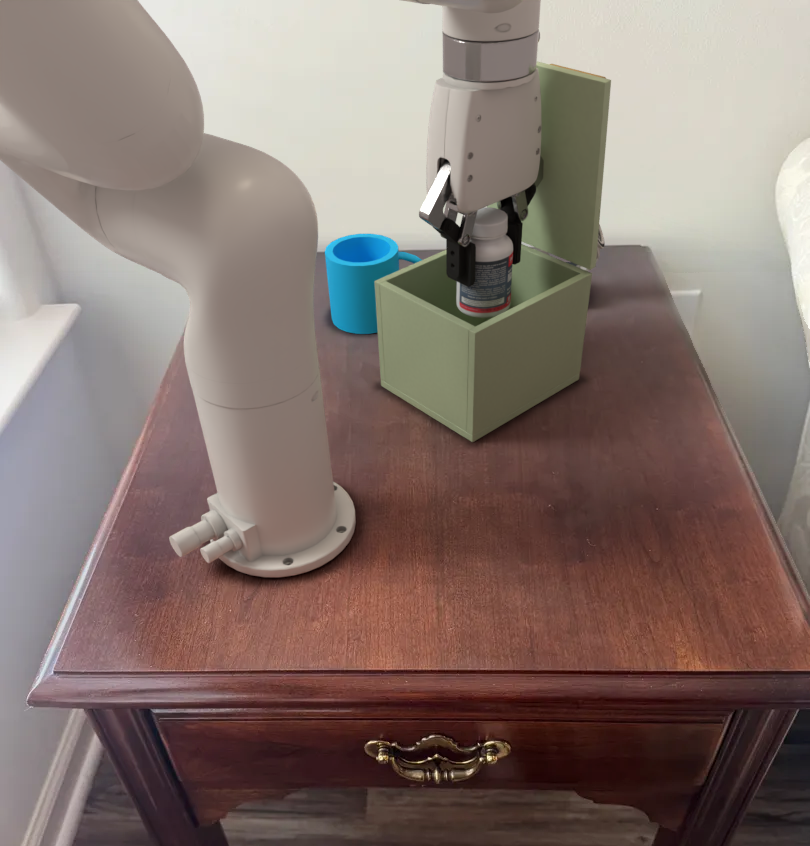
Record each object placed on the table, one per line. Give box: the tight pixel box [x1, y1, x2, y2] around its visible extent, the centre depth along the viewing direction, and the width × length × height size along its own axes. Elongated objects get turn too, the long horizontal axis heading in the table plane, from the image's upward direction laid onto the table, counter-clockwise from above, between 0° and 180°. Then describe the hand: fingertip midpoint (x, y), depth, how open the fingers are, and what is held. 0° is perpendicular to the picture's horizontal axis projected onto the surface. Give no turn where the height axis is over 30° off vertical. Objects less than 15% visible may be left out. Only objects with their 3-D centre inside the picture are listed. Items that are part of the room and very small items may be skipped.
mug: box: [324, 233, 423, 335], centre depth 97 cm, size 12×8×8 cm
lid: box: [487, 60, 612, 271], centre depth 79 cm, size 16×14×5 cm
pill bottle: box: [456, 207, 513, 318], centre depth 80 cm, size 5×5×9 cm
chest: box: [375, 243, 593, 443], centre depth 85 cm, size 16×14×12 cm
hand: (483, 268), depth 80 cm, fingers closed on pill bottle, 5 cm apart
